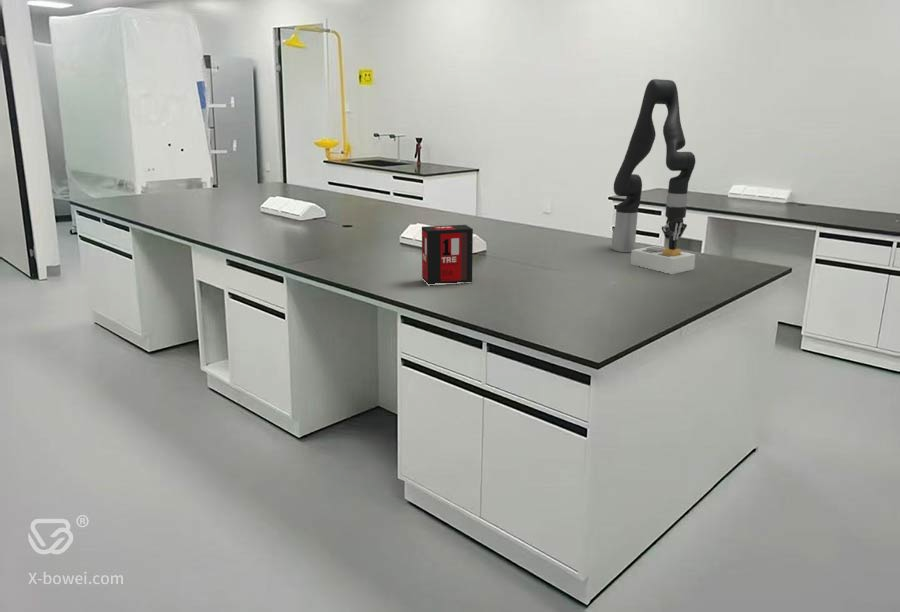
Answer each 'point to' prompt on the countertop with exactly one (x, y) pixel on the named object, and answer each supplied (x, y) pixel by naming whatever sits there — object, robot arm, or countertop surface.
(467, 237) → the cleaning product box
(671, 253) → the tan cardboard-coloured cube
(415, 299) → the countertop surface
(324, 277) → the countertop surface
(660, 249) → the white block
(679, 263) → the panel
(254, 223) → the countertop surface
